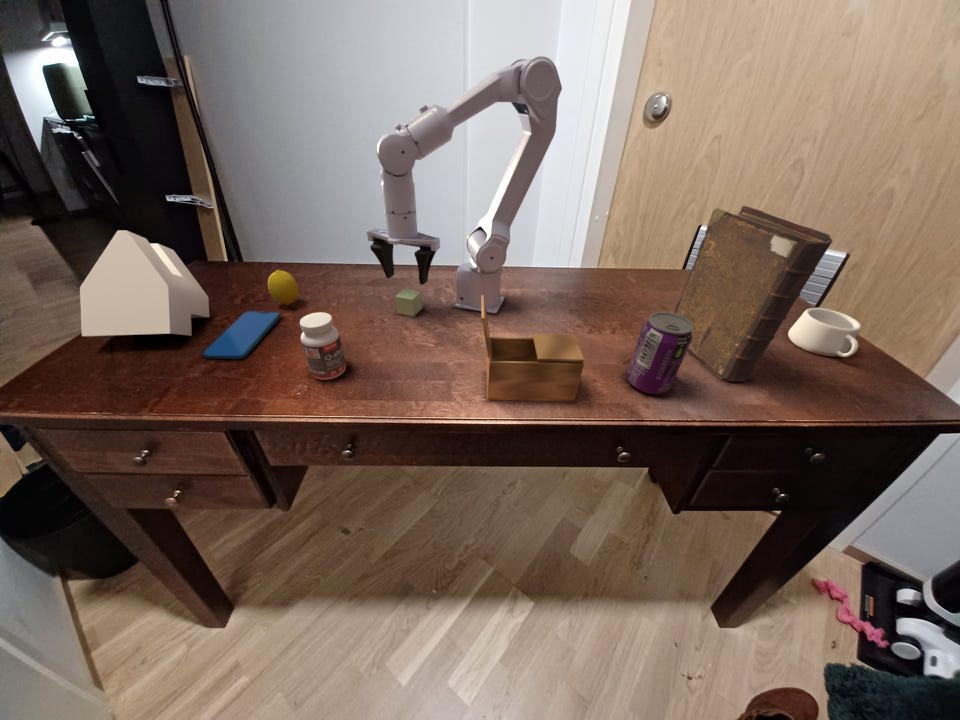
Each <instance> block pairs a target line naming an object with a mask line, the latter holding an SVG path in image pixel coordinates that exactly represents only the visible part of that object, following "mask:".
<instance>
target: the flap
mask: <svg viewBox="0 0 960 720" xmlns="http://www.w3.org/2000/svg"><path fill="white" fill-rule="evenodd" d="M481 306H482V312H481V321H482V328H483V335H484V340H485V346H486V347H485V348H486V352H487V354H488V358H491V348H490V337H491V335H490V334H491V333H490V325H489V319H488V313H487V312H486V306H485V299H484V295H481Z"/></svg>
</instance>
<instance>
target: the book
mask: <svg viewBox="0 0 960 720" xmlns="http://www.w3.org/2000/svg"><path fill="white" fill-rule="evenodd" d="M832 243H833V239H832V238H831V236H830V234H829V233H826V232H823V231H820V230H816V229H814V228H811V227H808V226H804V225H801V224H797V223H794V222H792V221H789V220H786V219H783V218H780V217H778V216H774V215H772V214H769V213H767V212H764V211H763V210H760V209H758V208H755V207H752V206H747V205H742V206H741V209H740V210H739V212H738V214H735V213H732V212H729V211H727V210H725V209H722V208H720V207H715V208H713V210H712V211H711V214H710V218H709V220H708V223H707V226H706V229H705V235H704V237H703V239H702V240H701V243H700V245H699V248H698V251H697V255H696V257H695V259H694V262H693V265H692V267H691V269H690V273H689V274H688V278H687V280H686V282H685V285H684V288H683V290H682V292H681V296H680V298H679V299H678V301H677V303H676V306H675V309H674V313H673V314H677V315H679V316H682V317H684V318H686V319H687V320H689V321H690V322H691V323H692V324H693V330H692V332H691V333H692V341H691V343H690V345H689V347H688V350H687V352H689V354H691V355H693V356H694V357H695V358H696V359H698V360H699V361H700V362H701V363H703V365H705V366H706V367H707V368H708V370H710V372H712V373H713V374H714V375H715V376H716V377H718V378H719V379H721V380H726V381H729V382H745V381H749V380H750V378H751V377H752V375H753V373H754V371H755V370H756V368H757V366H758V364H759V362H760V361H761V360H762V358H764V354H765V352H766V350H767V349H768V347H769V345H770V343H771V342H772V341H774V339H775V336H776V334H777V332H778V330H779V329H780V327H781V325H782V323H783V322H784V321H785V320H786V319H787V318H788V317H787V316H788V314H789V312H790V311H791V309H792V307H793V305H794V304H795V302H796V300H797V299H798V298H799V297H800V296H801V292H802V290H803V289H804V287H806V284H807V283H808V281H809V280H810V279H811V276H812V274H814V273H815V272H816V268H817V266H818V265H819V263H821V260H822V259H823V257H824V256H825V254H826V252H827V250H828V249H829V248H830V247H831V245H832Z"/></svg>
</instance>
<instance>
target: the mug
mask: <svg viewBox="0 0 960 720" xmlns="http://www.w3.org/2000/svg"><path fill="white" fill-rule="evenodd" d="M861 330H862V324H861V323H860V322H859V321H858V320H857V319H855V318H853V317H852V316H850V315H848V314H845V313H842V312H841V311H836V310H833V309H828V308H823V307H810V308H807V309H805V310H804V311H803V312H802V314H801V315H800V317H799V318H798V319H797V320H796V321H795V323H793V325H792V326H791V327H790V328H789V330H788V333H787V335H788V339H789V340H790V342H792V343H793V344H794V345H796V346H797V347H799V348H801V349H802V350H805V351H807V352H809V353H812V354H816V355H819V356H825V357H831V358H832V357H835V358H836V357H841V358H849V357H851V356H853V355H855V354H857V351H858V349H859V342H858V340H857V339H856V338H857V337H858V335H859V333H860V331H861Z"/></svg>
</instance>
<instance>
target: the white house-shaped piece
mask: <svg viewBox="0 0 960 720" xmlns="http://www.w3.org/2000/svg"><path fill="white" fill-rule="evenodd" d="M209 303H210V302H209V296H208V294H207V293H206V292H205V290H204V288H202V286H201V285H200V283H199V282H198V281H197V280H196V278H195V277H194V275H193V274H192V273H191V271H190V270H189V269H188V268H187V266H186V265H185V263H184V262H183V261H182V259H181V258H180V256H179V255H178V254H177V253H176V251H175V250H174V249H172V248H170V247H167V246H165V245H162V244H161V243H158V242H157V243H156V242H155V243H150V242H149V240H148V239H147V238H146V237H143V236H141V235H139V234H136V233H134V232H131V231H129V230H125V229H124V230H121V229H120V230H119V229H118V230H117V231H116V232H115V234H114V235H113V237H112V238H111V240H110V241H109V243H108V244H107V246H106V247H105V249H104V250H103V252H102V253H101V255H100V256H99V258H98V259H97V261H96V262H95V264H94V265H93V267H92V268H91V270H90V271H89V273H88V274H87V276H86V278H85V279H84V281H83V282H82V283H81V285H80V286H79V304H80V325H81V337H87V338H101V339H112V336H133V335H137V336H138V335H164V334H165V335H166V334H168V335H169V334H172V335H180V336H190V337H192V336H193V333H192V319H200V318H210V304H209Z"/></svg>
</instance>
